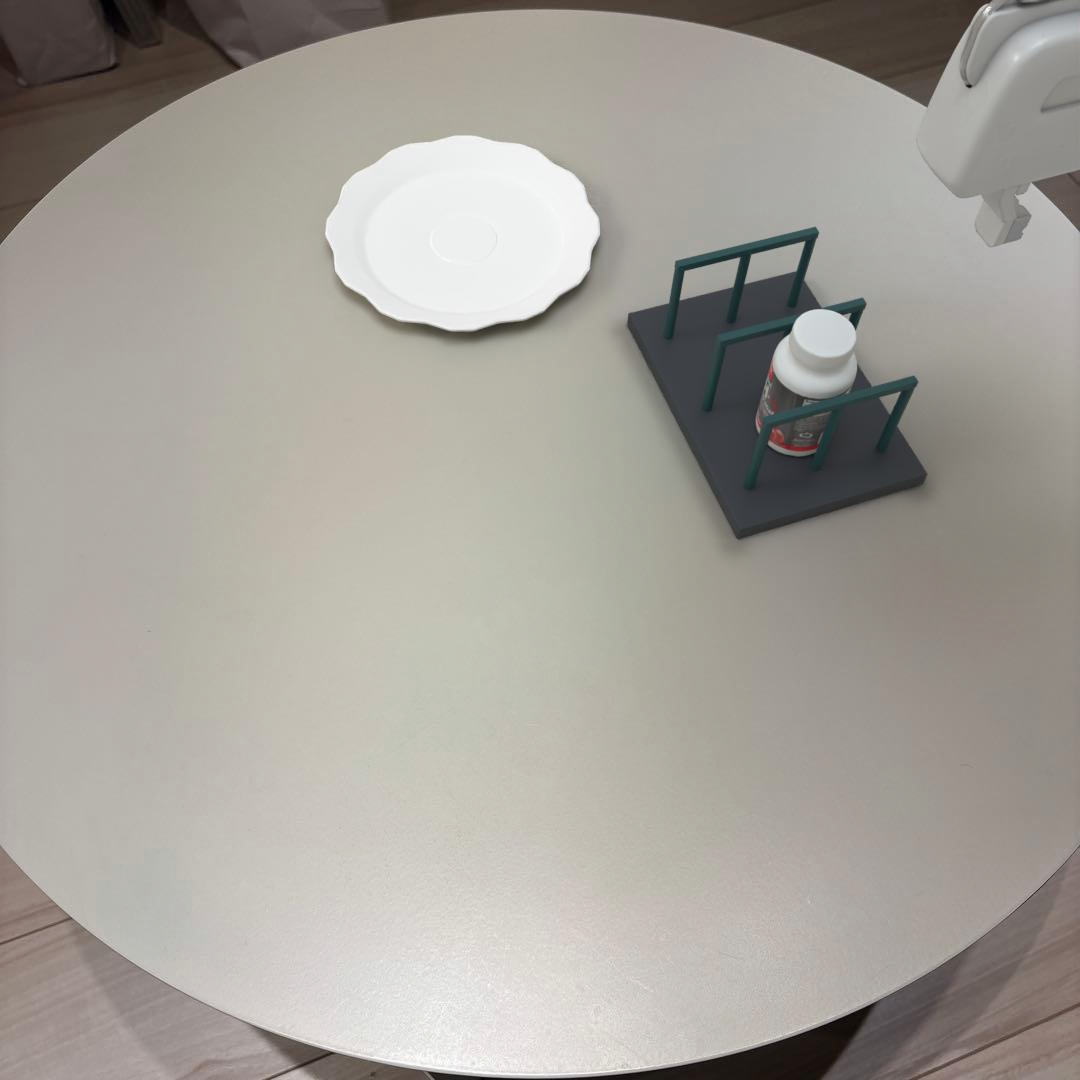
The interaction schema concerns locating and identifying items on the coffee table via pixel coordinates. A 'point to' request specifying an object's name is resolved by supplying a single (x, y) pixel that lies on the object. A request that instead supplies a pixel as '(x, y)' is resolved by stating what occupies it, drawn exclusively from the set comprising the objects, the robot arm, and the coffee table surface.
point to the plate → (462, 233)
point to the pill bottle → (808, 377)
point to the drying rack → (736, 389)
